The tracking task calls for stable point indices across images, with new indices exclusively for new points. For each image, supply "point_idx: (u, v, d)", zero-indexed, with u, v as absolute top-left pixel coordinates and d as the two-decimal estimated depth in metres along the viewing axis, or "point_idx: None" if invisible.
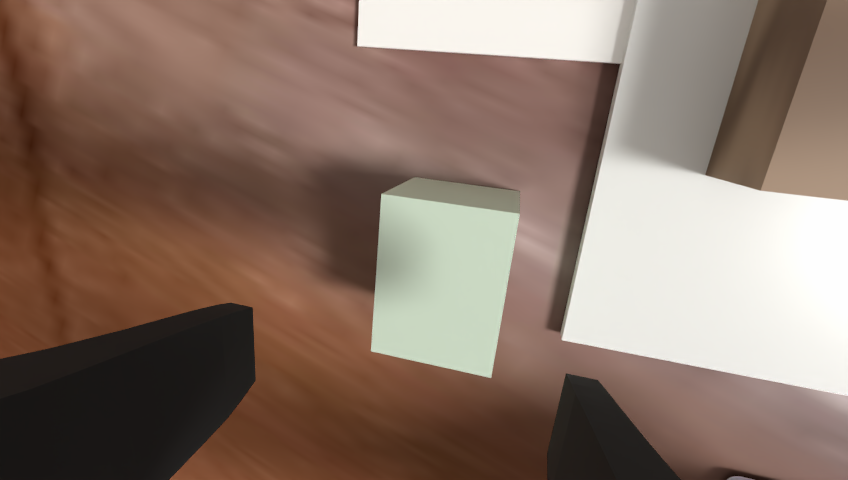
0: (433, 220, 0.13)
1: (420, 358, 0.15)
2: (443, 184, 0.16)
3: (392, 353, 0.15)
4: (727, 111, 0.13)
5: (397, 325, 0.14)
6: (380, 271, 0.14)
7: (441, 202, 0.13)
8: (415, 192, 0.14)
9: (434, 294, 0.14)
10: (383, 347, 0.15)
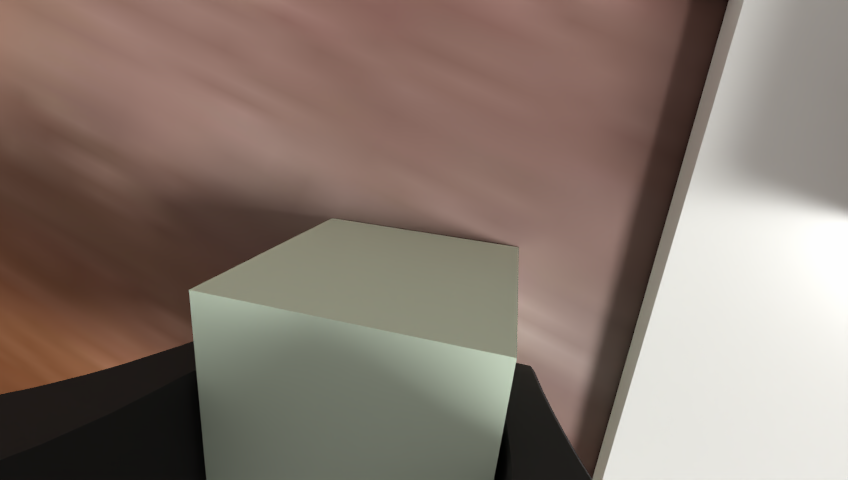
0: (309, 355, 0.05)
1: None
2: (374, 237, 0.09)
3: None
4: None
5: None
6: (209, 447, 0.06)
7: (324, 316, 0.05)
8: (289, 273, 0.06)
9: None
10: None
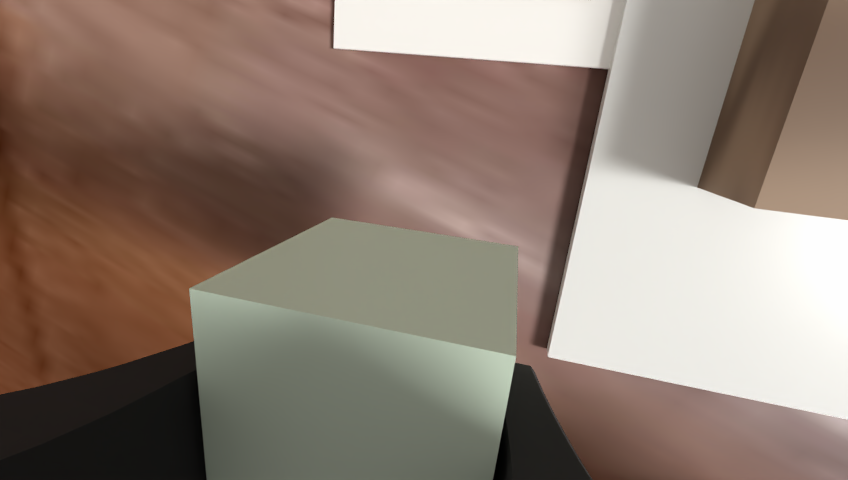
0: (308, 354, 0.05)
1: None
2: (374, 237, 0.09)
3: None
4: (721, 120, 0.13)
5: None
6: (209, 446, 0.06)
7: (324, 314, 0.05)
8: (289, 272, 0.06)
9: None
10: None
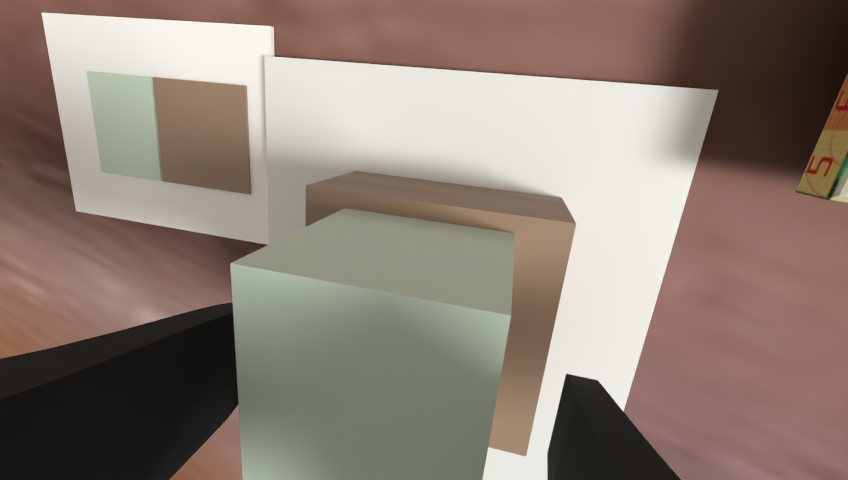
0: (333, 318, 0.06)
1: None
2: (384, 224, 0.10)
3: None
4: None
5: None
6: (244, 403, 0.07)
7: (347, 284, 0.06)
8: (312, 252, 0.07)
9: (347, 453, 0.07)
10: None
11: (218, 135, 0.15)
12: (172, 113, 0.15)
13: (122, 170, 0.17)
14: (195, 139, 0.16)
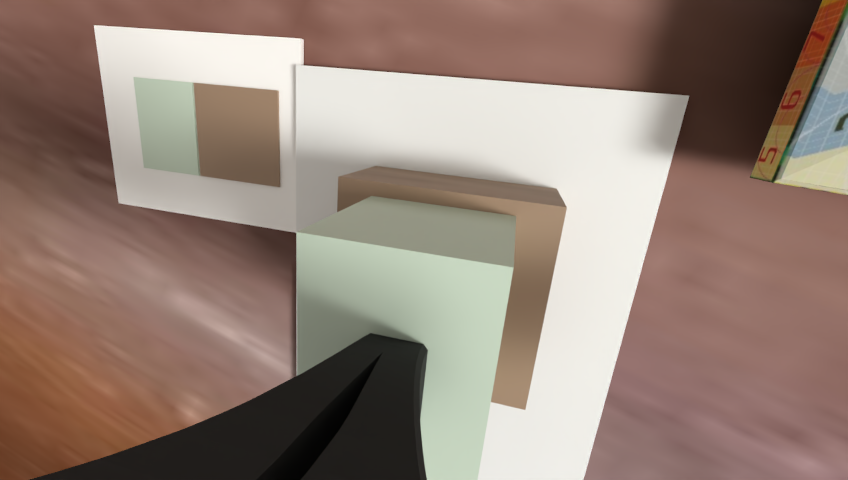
0: (377, 273, 0.08)
1: None
2: (407, 208, 0.11)
3: None
4: None
5: None
6: (302, 346, 0.09)
7: (388, 246, 0.08)
8: (356, 226, 0.09)
9: None
10: None
11: (252, 134, 0.17)
12: (210, 115, 0.17)
13: (163, 166, 0.19)
14: (230, 138, 0.17)
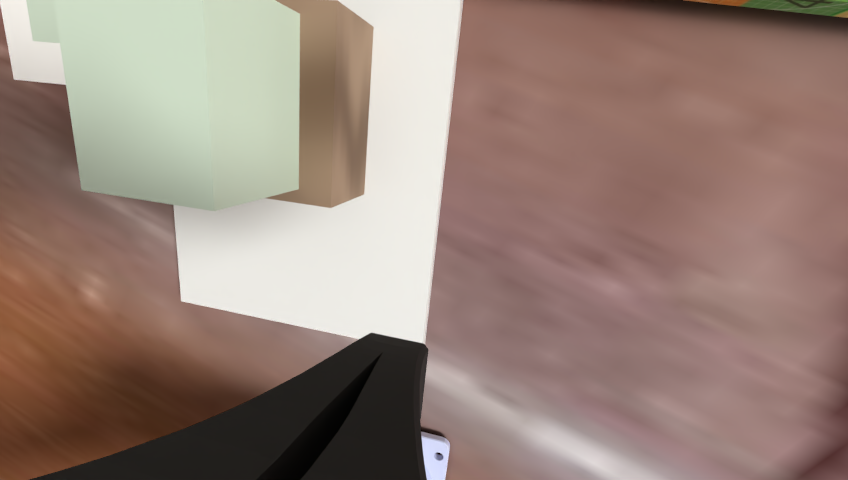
0: None
1: (134, 193, 0.11)
2: None
3: (104, 190, 0.12)
4: None
5: (101, 148, 0.11)
6: (67, 71, 0.11)
7: None
8: None
9: (131, 97, 0.11)
10: (93, 182, 0.12)
11: None
12: None
13: (49, 37, 0.20)
14: None
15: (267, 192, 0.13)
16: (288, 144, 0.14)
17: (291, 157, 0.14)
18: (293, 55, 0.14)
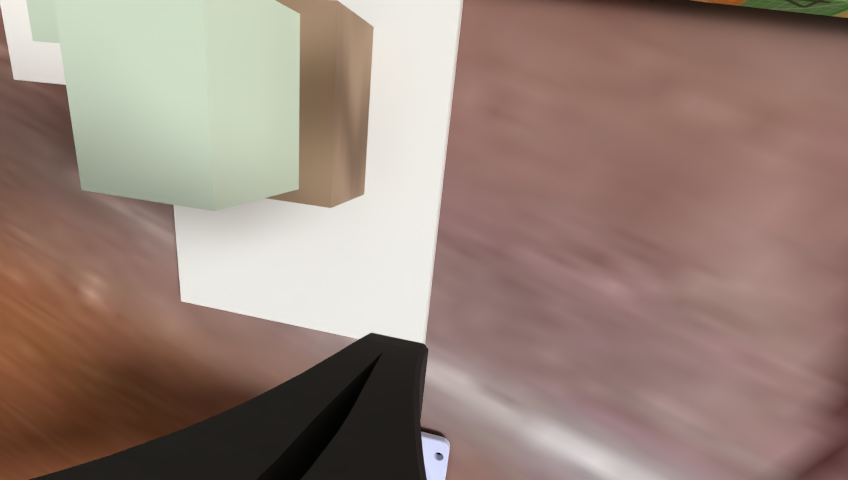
0: None
1: (134, 193, 0.11)
2: None
3: (104, 190, 0.12)
4: None
5: (101, 148, 0.11)
6: (68, 71, 0.11)
7: None
8: None
9: (131, 97, 0.11)
10: (93, 182, 0.12)
11: None
12: None
13: (49, 37, 0.20)
14: None
15: (267, 192, 0.13)
16: (288, 144, 0.14)
17: (291, 157, 0.14)
18: (293, 55, 0.14)
